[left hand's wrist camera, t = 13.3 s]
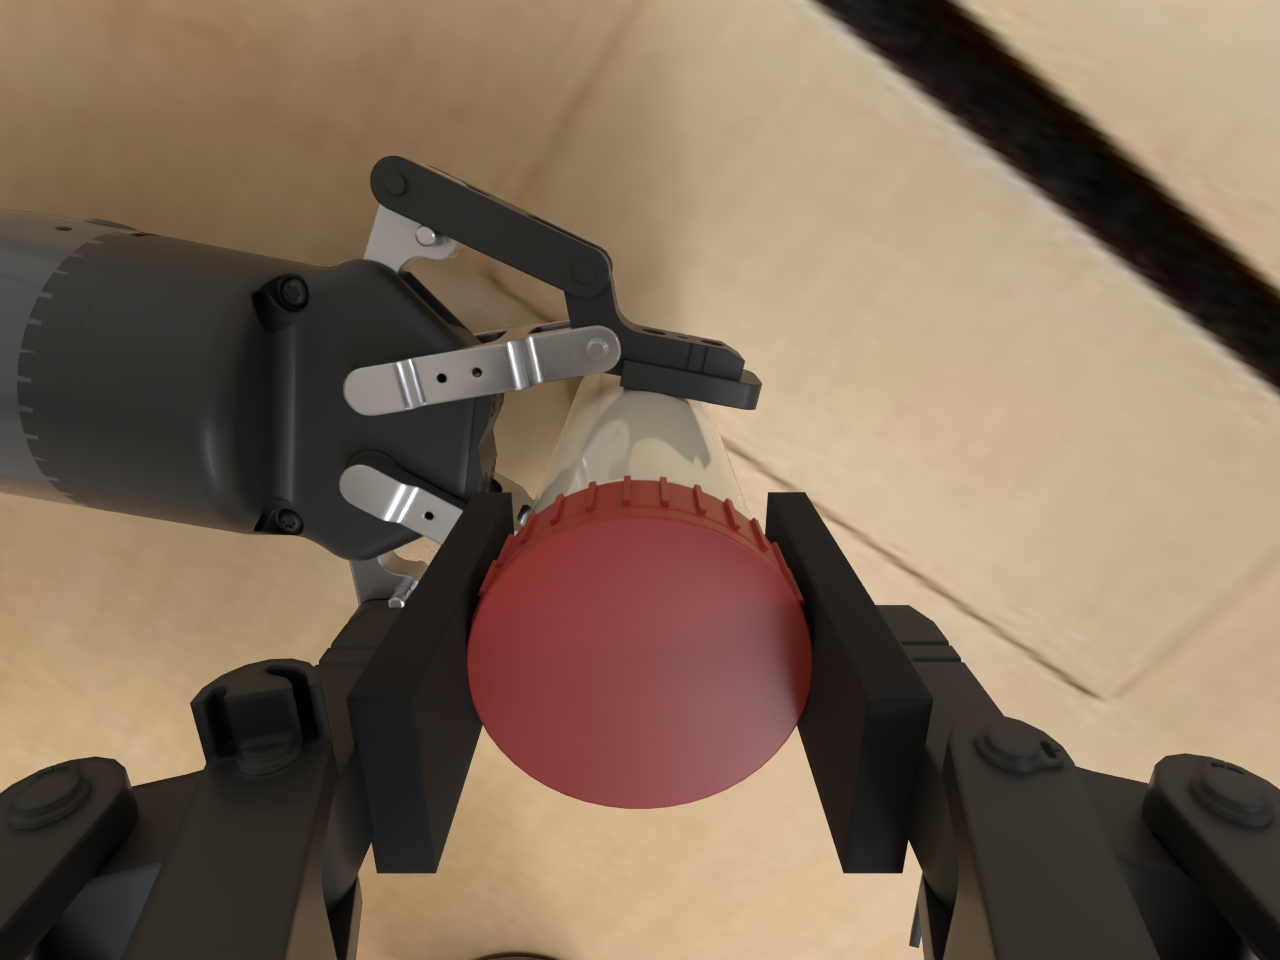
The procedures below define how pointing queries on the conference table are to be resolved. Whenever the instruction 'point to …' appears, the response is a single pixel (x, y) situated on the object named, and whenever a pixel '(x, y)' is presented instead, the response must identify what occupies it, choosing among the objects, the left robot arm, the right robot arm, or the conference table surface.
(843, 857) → the left robot arm
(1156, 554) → the conference table surface
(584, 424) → the bottle
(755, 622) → the lid
